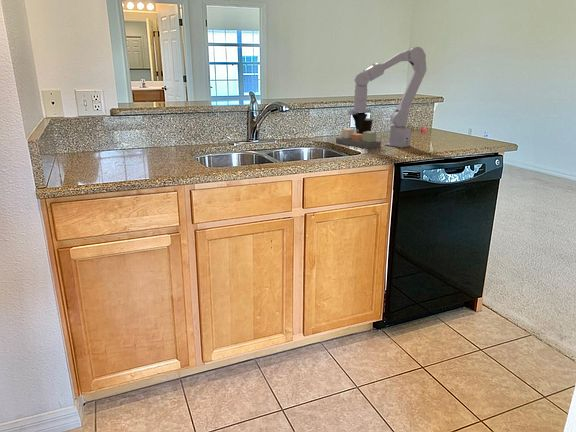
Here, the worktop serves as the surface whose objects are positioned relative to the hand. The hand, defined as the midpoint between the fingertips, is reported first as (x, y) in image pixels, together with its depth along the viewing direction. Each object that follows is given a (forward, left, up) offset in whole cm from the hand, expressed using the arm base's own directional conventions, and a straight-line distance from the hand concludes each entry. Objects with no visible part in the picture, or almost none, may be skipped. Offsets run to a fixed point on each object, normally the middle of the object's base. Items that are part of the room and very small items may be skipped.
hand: (358, 129), depth 209 cm
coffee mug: (+10, -16, -8) cm, 20 cm away
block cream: (+7, 0, -5) cm, 8 cm away
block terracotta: (0, 0, -7) cm, 7 cm away
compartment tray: (0, 0, -7) cm, 7 cm away
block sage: (-6, 0, -5) cm, 8 cm away
